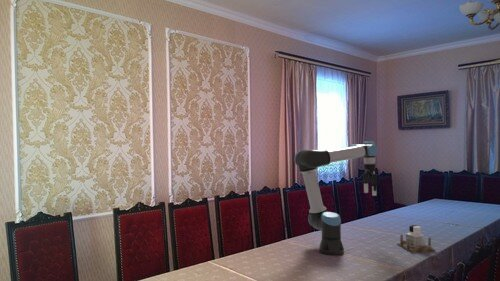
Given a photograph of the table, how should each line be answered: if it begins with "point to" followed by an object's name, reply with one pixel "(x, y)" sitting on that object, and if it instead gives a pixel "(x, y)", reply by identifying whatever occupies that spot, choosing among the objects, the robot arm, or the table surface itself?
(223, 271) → the table surface
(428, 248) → the tray
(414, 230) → the container
